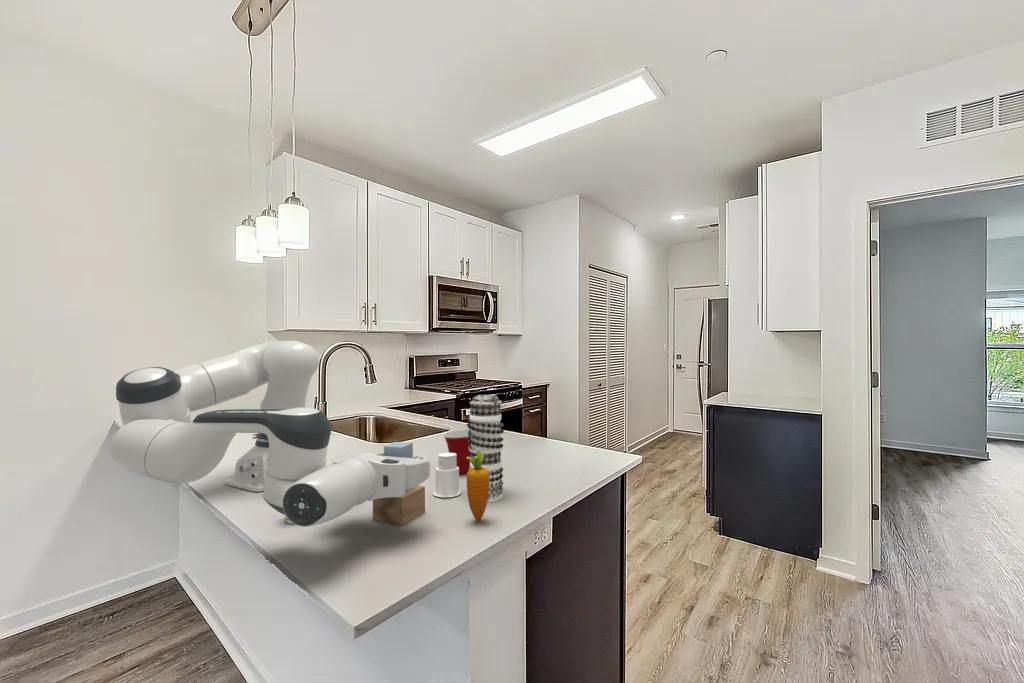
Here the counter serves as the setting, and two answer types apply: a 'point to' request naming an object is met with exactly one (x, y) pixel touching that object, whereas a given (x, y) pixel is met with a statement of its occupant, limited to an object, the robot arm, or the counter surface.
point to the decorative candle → (487, 439)
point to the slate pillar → (399, 450)
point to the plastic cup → (459, 448)
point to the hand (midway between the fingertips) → (401, 458)
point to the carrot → (477, 486)
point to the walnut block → (400, 507)
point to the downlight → (447, 476)
